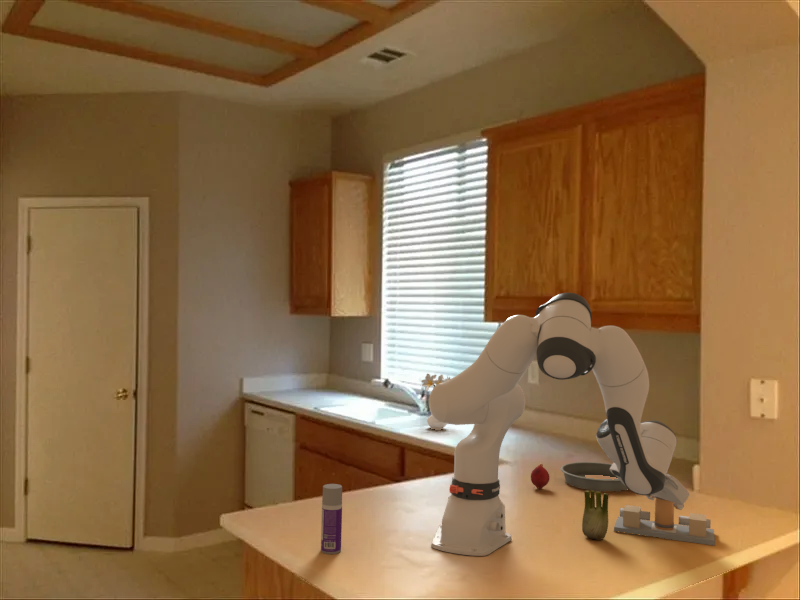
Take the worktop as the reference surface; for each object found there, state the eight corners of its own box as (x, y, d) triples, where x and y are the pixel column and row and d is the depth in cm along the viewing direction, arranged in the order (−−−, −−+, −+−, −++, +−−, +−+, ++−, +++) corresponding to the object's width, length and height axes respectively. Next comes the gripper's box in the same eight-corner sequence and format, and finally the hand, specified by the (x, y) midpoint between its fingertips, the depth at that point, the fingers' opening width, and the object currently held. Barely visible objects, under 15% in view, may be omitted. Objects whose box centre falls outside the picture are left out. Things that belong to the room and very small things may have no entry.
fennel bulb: (609, 540, 182) (611, 492, 182) (597, 543, 178) (599, 495, 178) (590, 533, 186) (591, 487, 186) (578, 537, 183) (579, 489, 183)
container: (345, 550, 169) (346, 486, 169) (330, 555, 165) (332, 489, 165) (331, 545, 172) (333, 482, 172) (316, 550, 168) (318, 486, 168)
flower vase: (452, 433, 322) (454, 377, 322) (414, 429, 330) (415, 374, 330) (462, 429, 334) (463, 374, 334) (425, 425, 342) (426, 372, 342)
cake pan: (546, 476, 248) (547, 463, 248) (610, 473, 254) (610, 460, 254) (584, 495, 224) (584, 481, 224) (653, 491, 231) (653, 477, 231)
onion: (540, 492, 225) (541, 466, 225) (526, 488, 230) (527, 463, 230) (552, 489, 229) (553, 464, 229) (538, 485, 233) (539, 460, 233)
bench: (714, 545, 179) (715, 524, 179) (614, 531, 188) (614, 511, 188) (713, 533, 188) (714, 513, 188) (617, 521, 197) (618, 501, 197)
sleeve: (673, 531, 185) (674, 496, 185) (653, 528, 187) (654, 493, 187) (674, 526, 190) (675, 491, 190) (654, 523, 191) (655, 489, 191)
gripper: (677, 467, 176) (705, 503, 180) (618, 450, 194) (644, 483, 199) (663, 487, 174) (691, 523, 178) (604, 468, 192) (631, 501, 197)
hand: (666, 502), depth 189 cm, fingers open, 8 cm apart
